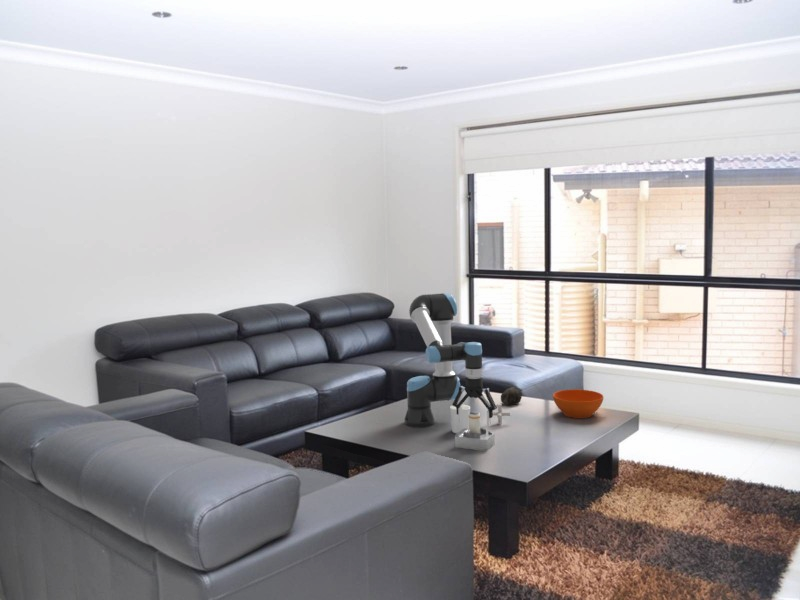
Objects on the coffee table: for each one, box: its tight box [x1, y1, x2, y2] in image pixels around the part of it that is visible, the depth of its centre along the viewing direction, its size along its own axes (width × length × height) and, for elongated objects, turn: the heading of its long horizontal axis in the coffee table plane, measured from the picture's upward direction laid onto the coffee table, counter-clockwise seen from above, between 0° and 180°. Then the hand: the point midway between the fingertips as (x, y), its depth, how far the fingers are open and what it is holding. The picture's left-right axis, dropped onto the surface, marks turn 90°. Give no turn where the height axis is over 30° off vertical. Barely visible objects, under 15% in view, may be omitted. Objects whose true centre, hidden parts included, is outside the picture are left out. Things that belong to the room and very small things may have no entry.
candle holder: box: [449, 403, 471, 434], centre depth 349 cm, size 10×10×12 cm
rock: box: [500, 386, 523, 406], centre depth 395 cm, size 10×11×10 cm
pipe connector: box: [493, 403, 511, 425], centre depth 359 cm, size 10×10×10 cm
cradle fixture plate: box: [454, 426, 496, 452], centre depth 327 cm, size 15×11×7 cm
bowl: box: [552, 388, 604, 419], centre depth 371 cm, size 25×25×10 cm
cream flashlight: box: [469, 411, 481, 435], centre depth 326 cm, size 5×5×10 cm
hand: (474, 423), depth 326 cm, fingers open, 13 cm apart
